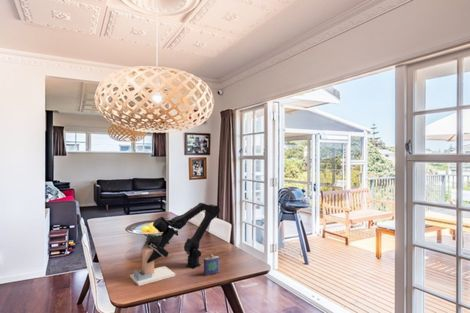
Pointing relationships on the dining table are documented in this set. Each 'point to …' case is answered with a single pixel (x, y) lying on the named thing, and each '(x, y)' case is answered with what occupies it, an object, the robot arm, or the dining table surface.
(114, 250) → the dining table surface
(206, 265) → the flask
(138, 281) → the dock
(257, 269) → the dining table surface
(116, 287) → the dining table surface
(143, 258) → the tall peach block
